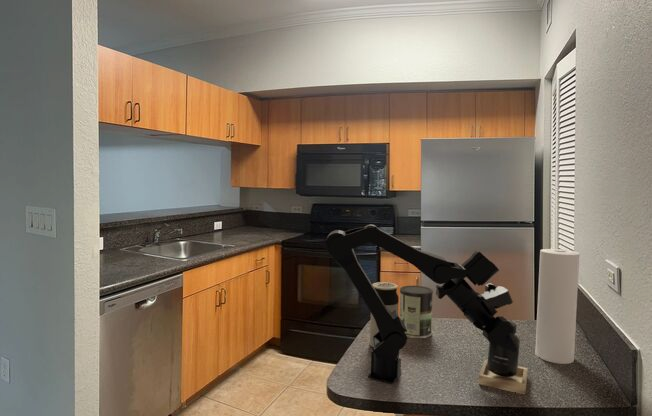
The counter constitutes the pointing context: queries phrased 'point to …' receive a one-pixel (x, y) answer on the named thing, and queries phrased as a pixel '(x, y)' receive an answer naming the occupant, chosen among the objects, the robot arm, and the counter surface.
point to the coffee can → (416, 310)
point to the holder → (504, 379)
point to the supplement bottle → (504, 357)
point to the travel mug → (389, 299)
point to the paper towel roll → (557, 305)
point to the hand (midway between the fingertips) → (509, 344)
